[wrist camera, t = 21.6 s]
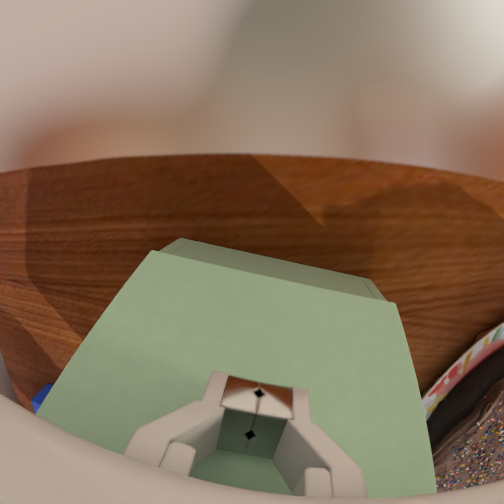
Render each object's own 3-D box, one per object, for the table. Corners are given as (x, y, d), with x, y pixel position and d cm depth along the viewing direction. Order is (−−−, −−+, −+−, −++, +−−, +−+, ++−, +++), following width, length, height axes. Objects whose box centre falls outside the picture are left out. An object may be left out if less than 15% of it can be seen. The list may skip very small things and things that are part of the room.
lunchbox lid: (421, 648, 2) (436, 648, 1) (-25, 563, 2) (-39, 559, 2) (390, 313, 17) (396, 302, 16) (151, 261, 17) (151, 249, 17)
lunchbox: (306, 443, 26) (308, 482, 21) (162, 412, 26) (144, 447, 22) (370, 278, 22) (390, 304, 17) (180, 237, 22) (154, 253, 18)
